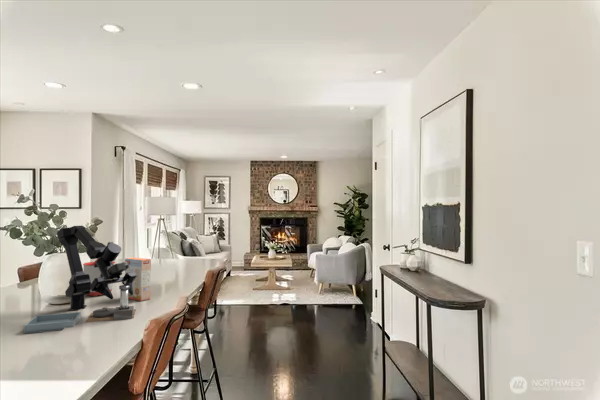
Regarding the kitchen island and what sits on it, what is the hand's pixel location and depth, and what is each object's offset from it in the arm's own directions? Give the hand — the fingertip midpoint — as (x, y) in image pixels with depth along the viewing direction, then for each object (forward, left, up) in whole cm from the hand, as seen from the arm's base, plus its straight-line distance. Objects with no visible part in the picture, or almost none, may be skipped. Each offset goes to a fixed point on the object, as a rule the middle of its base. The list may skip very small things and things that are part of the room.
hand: (122, 296), depth 159 cm
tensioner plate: (-3, -4, -9) cm, 11 cm away
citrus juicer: (-55, -16, -10) cm, 58 cm away
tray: (+2, -24, -9) cm, 26 cm away
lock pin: (+1, +1, -8) cm, 9 cm away
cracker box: (-37, +4, -10) cm, 39 cm away
